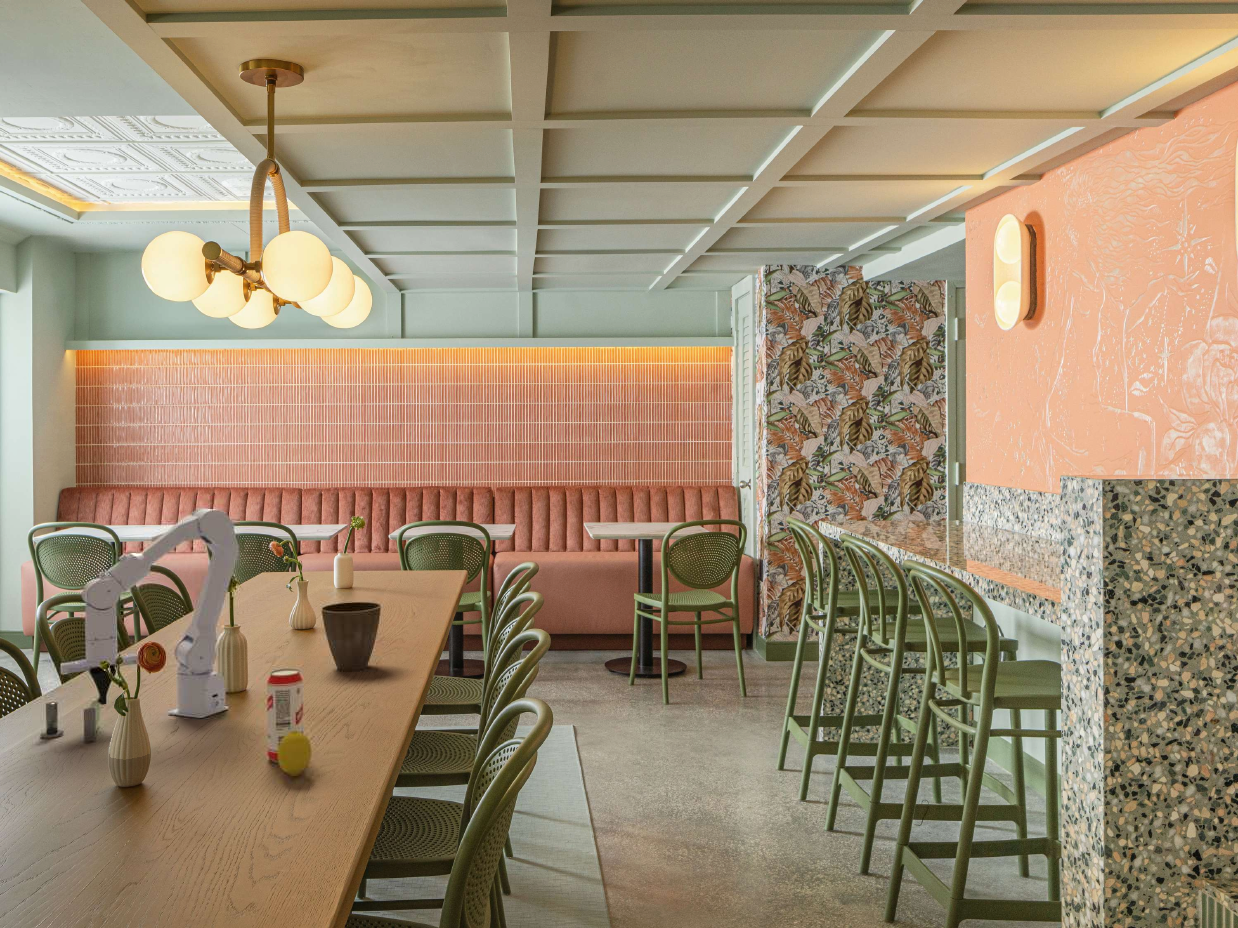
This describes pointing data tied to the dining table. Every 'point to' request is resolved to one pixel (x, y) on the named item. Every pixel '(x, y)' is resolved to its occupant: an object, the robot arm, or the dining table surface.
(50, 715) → the post
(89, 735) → the gate
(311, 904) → the dining table surface
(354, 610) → the plant pot
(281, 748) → the lemon
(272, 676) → the beer can
